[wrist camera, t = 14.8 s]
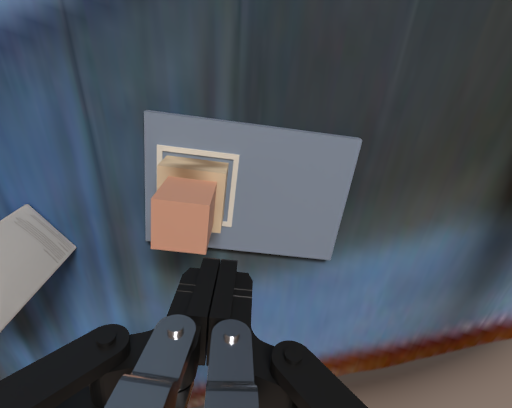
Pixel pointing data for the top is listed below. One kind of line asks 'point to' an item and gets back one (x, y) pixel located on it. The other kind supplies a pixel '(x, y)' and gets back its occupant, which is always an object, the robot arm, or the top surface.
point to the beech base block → (198, 178)
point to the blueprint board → (262, 180)
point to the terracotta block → (183, 215)
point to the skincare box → (27, 258)
